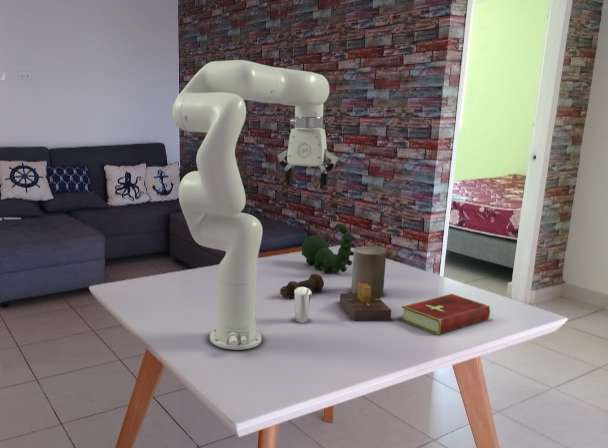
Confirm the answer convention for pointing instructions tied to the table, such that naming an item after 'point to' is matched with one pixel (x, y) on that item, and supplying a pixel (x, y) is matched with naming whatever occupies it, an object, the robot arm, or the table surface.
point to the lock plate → (365, 307)
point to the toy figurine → (328, 251)
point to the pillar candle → (369, 268)
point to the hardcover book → (445, 313)
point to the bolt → (303, 285)
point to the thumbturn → (364, 292)
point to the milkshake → (302, 304)
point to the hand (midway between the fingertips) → (306, 185)
